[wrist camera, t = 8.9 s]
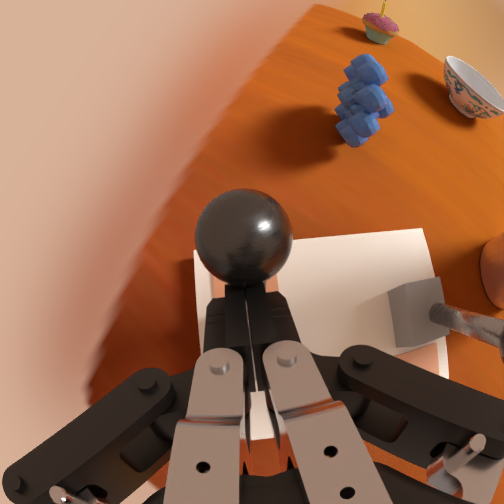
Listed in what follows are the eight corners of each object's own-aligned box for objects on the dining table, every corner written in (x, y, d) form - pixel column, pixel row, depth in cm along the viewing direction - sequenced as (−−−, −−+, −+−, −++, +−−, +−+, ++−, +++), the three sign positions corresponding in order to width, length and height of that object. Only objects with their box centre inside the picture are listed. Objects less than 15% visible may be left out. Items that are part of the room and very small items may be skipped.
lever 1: (283, 360, 15) (308, 233, 7) (226, 366, 15) (182, 245, 7) (275, 311, 18) (284, 166, 9) (223, 317, 17) (189, 175, 9)
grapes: (382, 180, 27) (431, 106, 16) (325, 168, 28) (358, 81, 16) (371, 114, 31) (400, 46, 20) (324, 102, 31) (344, 29, 20)
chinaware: (426, 95, 34) (442, 65, 27) (436, 74, 38) (449, 49, 31) (488, 147, 31) (509, 123, 24) (488, 115, 35) (504, 94, 28)
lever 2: (449, 328, 17) (548, 366, 6) (419, 338, 17) (523, 391, 6) (451, 287, 17) (559, 307, 6) (420, 294, 17) (539, 326, 6)
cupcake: (387, 51, 39) (402, 9, 28) (352, 34, 41) (363, -8, 29) (397, 44, 41) (410, 6, 30) (365, 28, 43) (375, -9, 32)
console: (437, 383, 20) (468, 386, 15) (215, 434, 19) (207, 456, 14) (412, 235, 25) (437, 215, 21) (197, 257, 24) (185, 236, 20)
